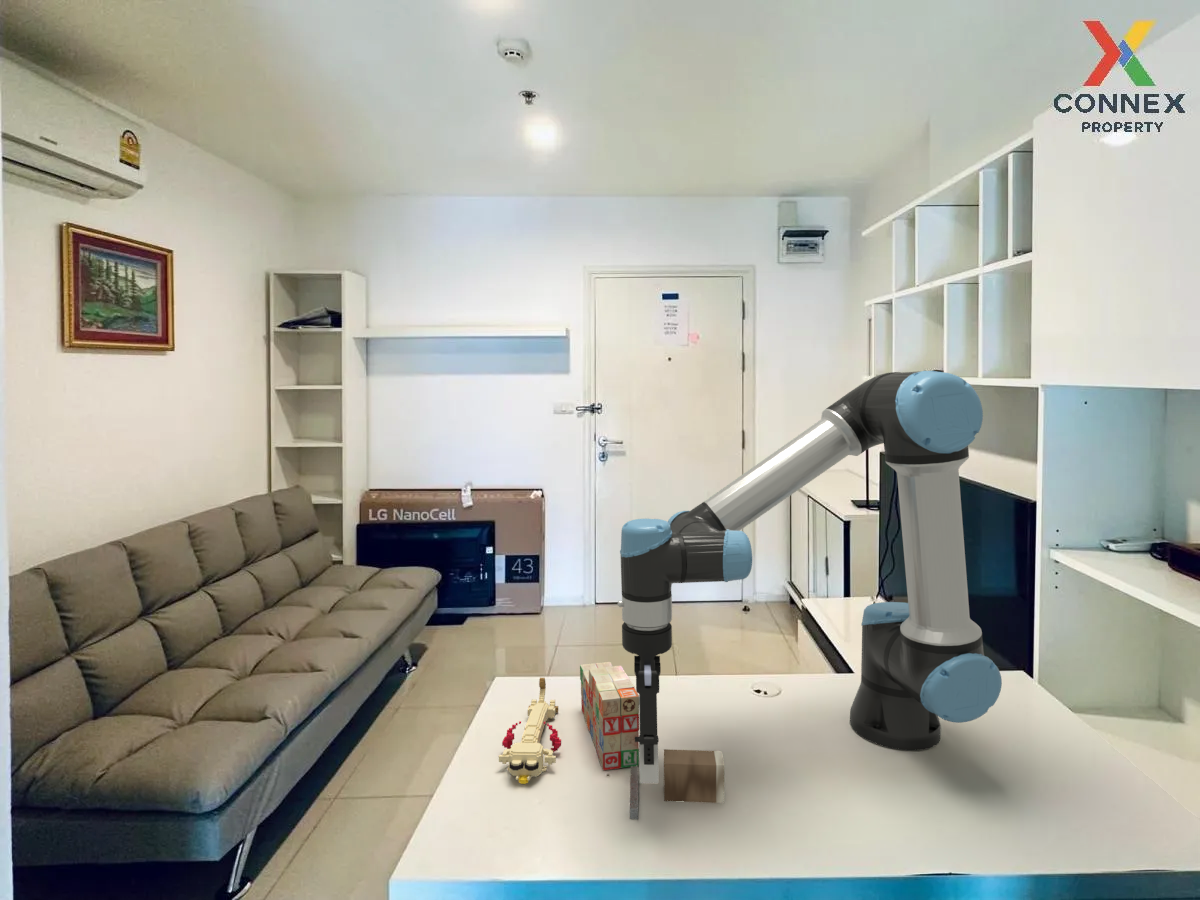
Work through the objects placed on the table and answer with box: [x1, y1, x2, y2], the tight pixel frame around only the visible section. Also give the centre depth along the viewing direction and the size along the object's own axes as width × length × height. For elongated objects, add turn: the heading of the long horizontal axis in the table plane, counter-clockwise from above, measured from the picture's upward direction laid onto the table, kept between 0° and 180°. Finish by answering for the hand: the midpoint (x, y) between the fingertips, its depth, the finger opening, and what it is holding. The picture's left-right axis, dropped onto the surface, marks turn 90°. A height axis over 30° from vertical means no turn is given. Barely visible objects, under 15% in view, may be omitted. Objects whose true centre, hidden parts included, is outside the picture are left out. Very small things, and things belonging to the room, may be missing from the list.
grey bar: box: [629, 765, 639, 820], centre depth 104 cm, size 1×11×2 cm, turn 177°
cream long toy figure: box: [498, 677, 562, 785], centre depth 119 cm, size 10×9×25 cm
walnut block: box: [663, 749, 725, 804], centre depth 104 cm, size 6×4×9 cm
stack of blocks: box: [579, 661, 640, 771], centre depth 121 cm, size 21×6×12 cm, turn 12°
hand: (648, 756), depth 105 cm, fingers open, 13 cm apart
